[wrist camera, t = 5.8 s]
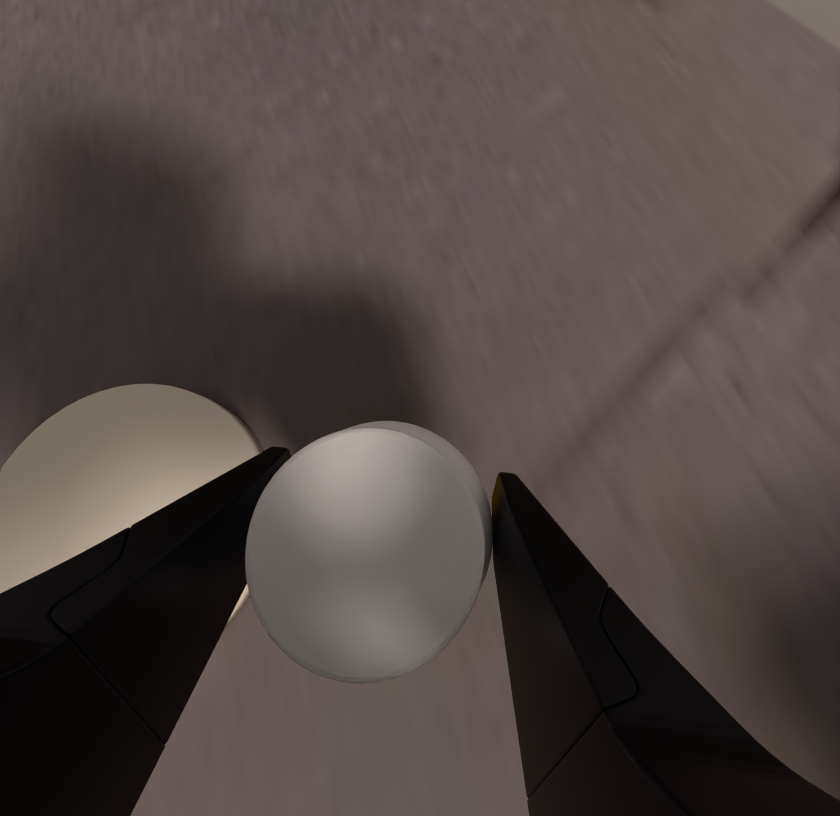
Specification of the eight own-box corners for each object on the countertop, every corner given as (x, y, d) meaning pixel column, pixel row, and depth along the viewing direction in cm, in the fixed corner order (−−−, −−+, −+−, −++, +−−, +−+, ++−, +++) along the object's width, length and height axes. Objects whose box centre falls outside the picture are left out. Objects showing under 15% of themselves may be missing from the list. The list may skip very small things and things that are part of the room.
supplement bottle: (469, 576, 15) (553, 734, 5) (339, 585, 15) (176, 762, 5) (457, 446, 16) (506, 377, 6) (337, 454, 16) (205, 398, 6)
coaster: (332, 503, 15) (325, 504, 14) (118, 751, 13) (94, 772, 12) (155, 342, 17) (139, 333, 16) (-56, 538, 15) (-88, 542, 14)
